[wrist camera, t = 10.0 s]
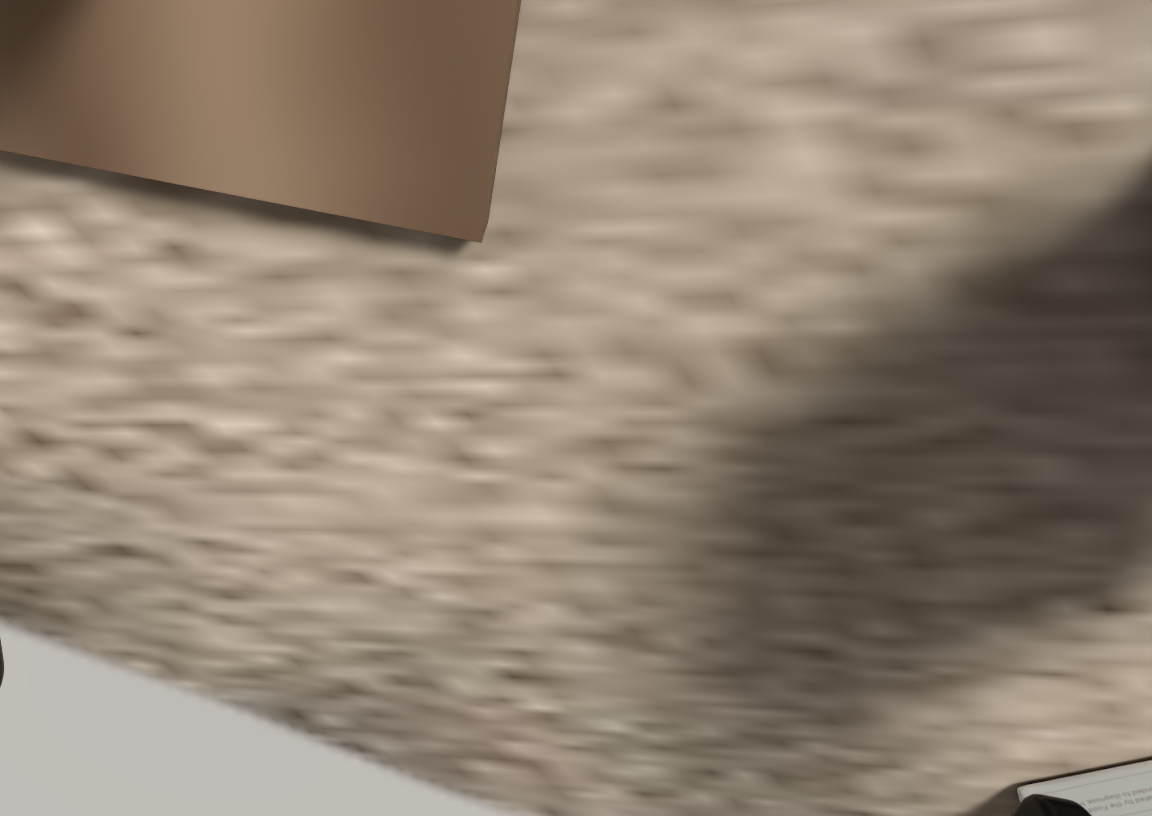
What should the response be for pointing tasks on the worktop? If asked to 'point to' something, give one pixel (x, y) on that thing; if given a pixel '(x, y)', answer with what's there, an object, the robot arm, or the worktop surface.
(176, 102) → the shelf board
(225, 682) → the worktop surface
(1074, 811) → the robot arm
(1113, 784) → the supplement box
